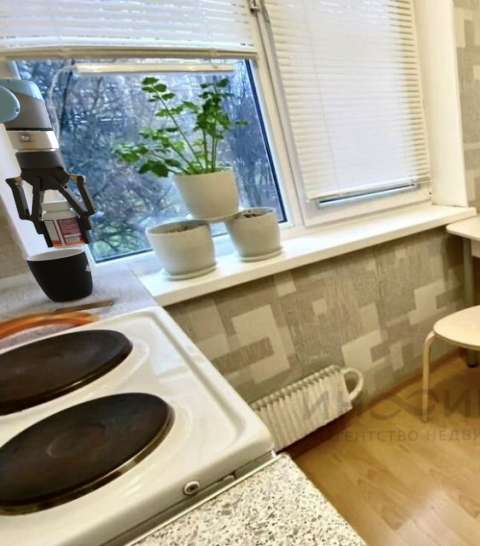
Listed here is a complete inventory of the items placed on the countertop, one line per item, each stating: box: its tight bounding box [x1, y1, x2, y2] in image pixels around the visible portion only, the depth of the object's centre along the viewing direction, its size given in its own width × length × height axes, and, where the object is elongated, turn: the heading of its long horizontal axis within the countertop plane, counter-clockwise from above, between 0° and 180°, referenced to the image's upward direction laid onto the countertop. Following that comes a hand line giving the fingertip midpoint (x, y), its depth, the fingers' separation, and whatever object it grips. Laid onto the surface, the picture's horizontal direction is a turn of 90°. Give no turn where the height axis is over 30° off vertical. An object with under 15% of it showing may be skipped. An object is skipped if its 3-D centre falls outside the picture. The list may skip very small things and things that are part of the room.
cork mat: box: [49, 299, 115, 317], centre depth 86 cm, size 9×8×1 cm
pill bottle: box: [40, 199, 87, 250], centre depth 105 cm, size 6×6×11 cm
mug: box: [25, 248, 94, 303], centre depth 94 cm, size 12×9×10 cm
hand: (70, 244), depth 107 cm, fingers closed on pill bottle, 6 cm apart
